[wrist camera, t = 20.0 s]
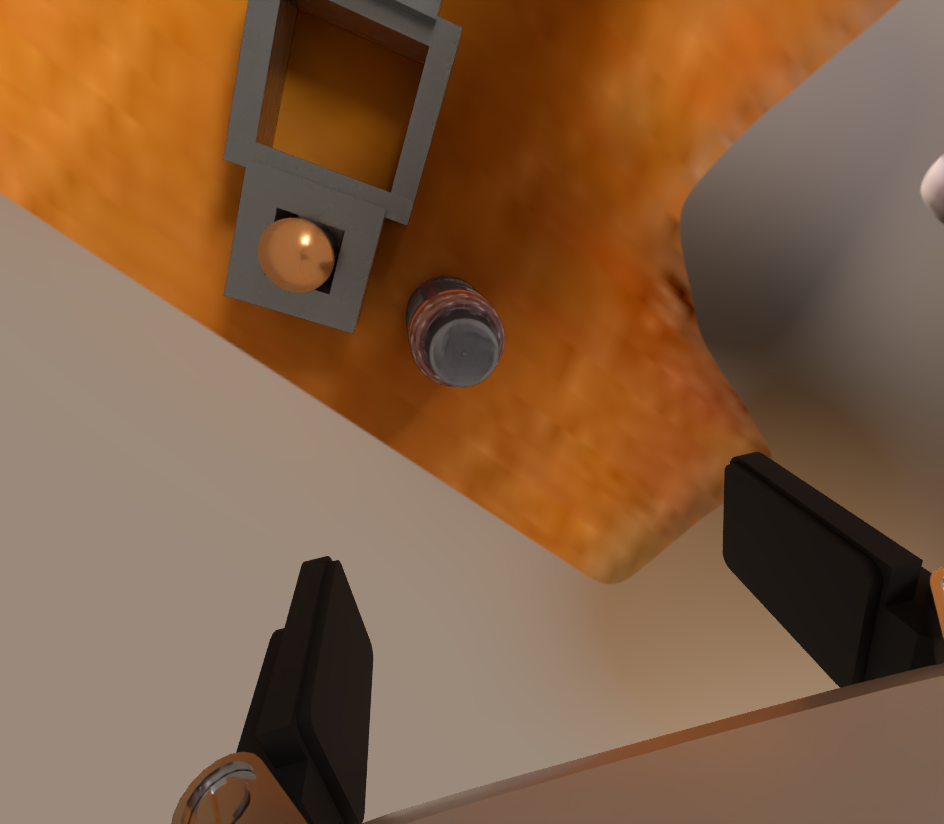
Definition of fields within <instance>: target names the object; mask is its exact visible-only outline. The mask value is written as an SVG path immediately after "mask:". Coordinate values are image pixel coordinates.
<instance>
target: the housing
mask: <svg viewBox="0 0 944 824" xmlns="http://www.w3.org/2000/svg"><path fill="white" fill-rule="evenodd" d="M442 3H443V0H248V5H247V12H246V18H245V24H244V31H243V37H242V44H241V50H240V56H239V63H238V69H237V76H236V82H235V88H234V95H233V101H232V108H231V114H230V121H229V127H228V133H227V140H226V146H225V153H224V160H227V161H229V162H232V163H235V164H238V165H240V166H243V167H246V169H245V175H244V180H243V186H242V192H241V198H240V204H239V210H238V216H237V222H236V227H235V233H234V239H233V245H232V251H231V257H230V263H229V268H228V274H227V280H226V286H225V292H224V296H227V297H231V298H234V299H238V300H241V301H244V302H248V303H251V304H254V305H258V306H261V307H265V308H268V309H271V310H275V311H278V312H282V313H285V314H288V315H292V316H295V317H298V318H302V319H305V320H309V321H312V322H315V323H319V324H322V325H325V326H329V327H332V328H336V329H339V330H342V331H346V332H349V333H352V334H353V333H354V330H355V327H356V325H357V322H358V319H359V316H360V312H361V308H362V304H363V301H364V297H365V293H366V289H367V286H368V282H369V278H370V274H371V270H372V267H373V263H374V259H375V255H376V252H377V248H378V244H379V240H380V237H381V233H382V229H383V225H384V221H385V218H388V219H390V220H393V221H396V222H399V223H401V224H404V225H408V222H409V218H410V215H411V211H412V207H413V204H414V200H415V197H416V193H417V190H418V186H419V182H420V179H421V175H422V172H423V168H424V165H425V161H426V158H427V154H428V150H429V147H430V143H431V140H432V136H433V133H434V129H435V125H436V122H437V118H438V115H439V111H440V108H441V104H442V101H443V97H444V93H445V90H446V86H447V83H448V79H449V76H450V72H451V68H452V65H453V61H454V58H455V54H456V51H457V47H458V44H459V40H460V36H461V33H462V29H463V28H462V27H460V26H458V25H456V24H454V23H452V22H450V21H447V20H445V19H443V18H441V17H439V14H440V10H441V7H442ZM298 9H300V10H303V11H305V12H307V13H309V14H312V15H314V16H316V17H318V18H321V19H323V20H325V21H327V22H329V23H332V24H334V25H336V26H338V27H341V28H343V29H345V30H347V31H350V32H352V33H354V34H356V35H358V36H361V37H363V38H365V39H367V40H370V41H372V42H374V43H376V44H379V45H381V46H383V47H385V48H387V49H390V50H392V51H394V52H396V53H399V54H401V55H403V56H405V57H408V58H410V59H412V60H414V61H417V62H419V63H421V64H423V65H424V69H423V73H422V76H421V80H420V84H419V88H418V91H417V95H416V99H415V103H414V107H413V110H412V114H411V118H410V122H409V125H408V129H407V133H406V137H405V141H404V144H403V148H402V152H401V156H400V160H399V163H398V167H397V171H396V175H395V178H394V182H393V186H392V190H391V192H388V191H385V190H383V189H380V188H377V187H375V186H372V185H369V184H367V183H364V182H361V181H358V180H356V179H353V178H350V177H348V176H345V175H342V174H340V173H337V172H334V171H332V170H329V169H326V168H324V167H321V166H318V165H316V164H313V163H310V162H308V161H305V160H302V159H300V158H297V157H294V156H292V155H289V154H286V153H284V152H281V151H278V150H276V149H273V148H272V146H273V141H274V136H275V130H276V125H277V119H278V114H279V108H280V103H281V98H282V92H283V87H284V81H285V76H286V71H287V65H288V60H289V54H290V49H291V43H292V38H293V33H294V27H295V22H296V16H297V11H298ZM292 213H294V214H297V215H299V217H298V218H302V219H305V220H308V221H310V222H312V223H314V224H316V225H317V226H320V227H322V228H324V229H325V230H327V231H328V232H329V233H330V234H331V235H332V237H333V238H334V240H335V243H336V248H337V253H336V255H338V253H339V249H340V244H341V240H342V236H343V232H344V231H345V233H344V237H343V241H342V245H341V249H340V253H339V257H338V262H337V266H336V270H335V274H334V278H333V282H331V281H328V280H326V281H325V282H324V283H323V284H322V285H321V286H319V287H318V288H316V289H314V290H312V291H309V292H304V293H295V292H290V291H287V290H284V289H282V288H280V287H278V286H277V285H275V284H274V283H273V282H272V281H271V280H270V279H269V278H268V277H267V276H266V274H265V273H264V271H263V270H262V268H261V265H260V262H259V259H258V243H259V240H260V237H261V235H262V233H263V232H264V230H265V229H266V228H267V227H268V226H269V225H270V224H272V223H273V222H275V221H278V220H280V219H285V218H292Z"/></svg>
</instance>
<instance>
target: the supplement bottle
mask: <svg viewBox="0 0 944 824" xmlns="http://www.w3.org/2000/svg"><path fill="white" fill-rule="evenodd" d="M406 323H407V330H408V337H409V345H410V350H411V353H412V356H413V358H414V361H415V363H416V364H417V366H418V367H419V369H420V370H421V371H422V372H423V373H424V374H425V375H426V376H427V377H428V378H430V379H432V380H433V381H435V382H437V383H439V384H441V385H445V386H450V387H467V386H472V385H476V384H478V383H480V382H481V381H483V380H484V379H486V378H487V377H488V376H489V375H490V374H491V373H492V371H493V370H494V368H495V367H496V365H497V364H498V362H499V360H500V358H501V356H502V353H503V349H504V343H505V333H504V328H503V325H502V322H501V319H500V317H499V315H498V313H497V312H496V310H495V309H494V308H493V307H492V305H491V304H490V303H489V302H488V301H487V300H486V299H485V298H484V297H483V296H482V295H480V294H479V293H478V291H476V290H475V289H474V288H473V287H472V286H471V285H470V284H468V283H467V282H465V281H463V280H461V279H459V278H455V277H451V276H439V277H435V278H432V279H429V280H427V281H426V282H424V283H422V284H421V285H420V286H419V287H418V288H417V289H416V290H415V291H414V293H413V294H412V296H411V298H410V300H409V302H408V306H407V310H406Z"/></svg>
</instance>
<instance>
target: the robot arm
mask: <svg viewBox="0 0 944 824" xmlns="http://www.w3.org/2000/svg"><path fill="white" fill-rule="evenodd" d="M723 557H724V560H725V562H726V564H727V566H728V567H729V569H730V570H731V571H732V572H733V573H734V574H735V575H736V576H737V577H738V578H739V580H740V581H741V582H742V583H743V584H744V585H745V586H746V587H747V588H748V589H749V590H750V591H751V592H752V594H753V595H754V596H755V597H756V598H757V599H758V600H759V601H760V602H761V603H762V604H763V605H764V607H765V608H766V609H767V610H768V611H769V612H770V613H771V614H772V615H773V616H774V617H775V618H776V619H777V621H778V622H780V624H781V625H782V626H783V627H784V628H785V629H786V630H787V631H788V632H789V633H790V634H791V636H792V637H793V638H794V639H795V640H796V641H797V642H798V643H799V644H800V645H801V646H802V647H803V649H804V650H805V651H807V653H808V654H809V655H810V656H811V657H812V658H813V659H814V660H815V661H816V662H817V664H818V665H819V666H820V667H821V668H822V669H823V670H824V671H825V672H826V673H827V674H828V676H829V677H830V678H831V679H832V680H833V681H834V682H835V683H836V684H837V685H838V686H839V687H841V688H838V689H834V690H831V691H827V692H823V693H819V694H816V695H812V696H808V697H805V698H801V699H797V700H793V701H789V702H786V703H782V704H779V705H774V706H771V707H767V708H763V709H759V710H756V711H752V712H748V713H745V714H741V715H737V716H734V717H730V718H726V719H723V720H719V721H715V722H712V723H708V724H704V725H701V726H697V727H693V728H689V729H686V730H682V731H678V732H675V733H671V734H667V735H664V736H660V737H657V738H653V739H649V740H646V741H642V742H638V743H635V744H631V745H627V746H624V747H620V748H616V749H613V750H609V751H605V752H602V753H598V754H595V755H591V756H587V757H584V758H580V759H577V760H573V761H569V762H566V763H563V764H559V765H556V766H552V767H548V768H545V769H541V770H538V771H534V772H530V773H527V774H523V775H520V776H516V777H512V778H509V779H505V780H502V781H498V782H495V783H491V784H488V785H484V786H480V787H477V788H473V789H470V790H467V791H463V792H460V793H456V794H453V795H450V796H446V797H443V798H440V799H437V800H433V801H430V802H426V803H423V804H420V805H417V806H413V807H410V808H406V809H403V810H400V811H396V812H393V813H390V814H387V815H384V816H382V817H379V818H376V819H373V820H370V821H368V822H365V823H362V822H363V819H364V812H365V795H366V794H365V793H366V777H367V759H368V741H369V723H370V706H371V688H372V670H373V651H372V645H371V642H370V639H369V636H368V634H367V631H366V628H365V626H364V623H363V621H362V618H361V615H360V613H359V610H358V607H357V605H356V602H355V599H354V597H353V594H352V591H351V589H350V586H349V583H348V581H347V578H346V575H345V573H344V570H343V568H342V565H341V563H340V561H339V560H336V561H332V560H331V558H330V557H329V556H326V557H322V558H318V559H313V560H310V561H305V562H303V564H302V566H301V569H300V573H299V577H298V580H297V584H296V588H295V591H294V595H293V599H292V602H291V606H290V610H289V614H288V617H287V621H286V624H285V628H283V629H279V630H276V631H275V632H274V633H273V634H272V637H271V639H270V642H269V645H268V648H267V652H266V655H265V658H264V662H263V665H262V669H261V672H260V675H259V679H258V682H257V685H256V688H255V692H254V695H253V699H252V702H251V705H250V708H249V712H248V715H247V718H246V722H245V725H244V728H243V732H242V735H241V739H240V742H239V745H238V748H237V752H236V753H233V754H229V755H227V756H225V757H223V758H221V759H219V760H217V761H215V762H214V763H213V764H211V765H210V766H209V767H207V768H206V769H205V770H203V771H202V772H201V773H200V774H199V775H198V776H197V777H196V778H195V779H194V780H193V781H192V783H191V784H190V785H189V786H188V788H187V789H186V791H185V792H184V794H183V795H182V797H181V798H180V800H179V802H178V805H177V807H176V809H175V811H174V814H173V818H172V823H171V824H944V567H942V568H939V569H937V570H935V571H934V573H930V572H929V571H927V570H926V569H924V568H923V567H921V566H922V561H923V560H922V559H920V558H918V557H917V556H915V555H914V554H912V553H911V552H909V551H908V550H906V549H905V548H903V547H902V546H900V545H899V544H897V543H896V542H894V541H893V540H891V539H890V538H888V537H887V536H885V535H884V534H882V533H881V532H879V531H878V530H876V529H875V528H873V527H872V526H870V525H869V524H867V523H866V522H864V521H863V520H861V519H860V518H858V517H857V516H855V515H854V514H852V513H851V512H849V511H848V510H846V509H845V508H843V507H842V506H840V505H839V504H837V503H836V502H834V501H833V500H831V499H830V498H828V497H827V496H825V495H824V494H822V493H821V492H819V491H818V490H816V489H815V488H813V487H812V486H810V485H809V484H807V483H806V482H804V481H802V480H801V479H800V478H798V477H797V476H795V475H794V474H792V473H791V472H789V471H788V470H786V469H785V468H783V467H782V466H780V465H779V464H777V463H776V462H774V461H773V460H771V459H770V458H768V457H767V456H765V455H764V454H762V453H760V452H753V453H749V454H745V455H741V456H737V457H734V458H732V459H731V461H730V465H727V466H726V468H725V479H724V521H723Z"/></svg>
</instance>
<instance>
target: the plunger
mask: <svg viewBox="0 0 944 824" xmlns="http://www.w3.org/2000/svg"><path fill="white" fill-rule="evenodd" d="M336 253H337V248H336V243H335V240H334V238H333V237H332V235H331V234H330V233H329V232H328V231H327V230H325V229H324V228H322V227H320V226H317V225H316V224H314V223H312V222H310V221H308V220H305V219H302V218H285V219H280V220H278V221H275V222H273V223H272V224H270V225H269V226H268V227H267V228H266V229H265V230H264V232H263V233H262V235H261V237H260V240H259V243H258V259H259V262H260V265H261V268H262V270H263V271H264V273H265V274H266V276H267V277H268V278H269V279H270V280H271V281H272V282H273V283H274V284H275V285H277V286H278V287H280V288H282V289H284V290H287V291H290V292H295V293H304V292H309V291H312V290H314V289H316V288H318V287H319V286H321V285H322V284H323V283H324V282H325V281H326V280H327V279H328V277H329V276H330V274H331V272H332V270H333V267H334V260H335V258H336Z"/></svg>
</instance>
